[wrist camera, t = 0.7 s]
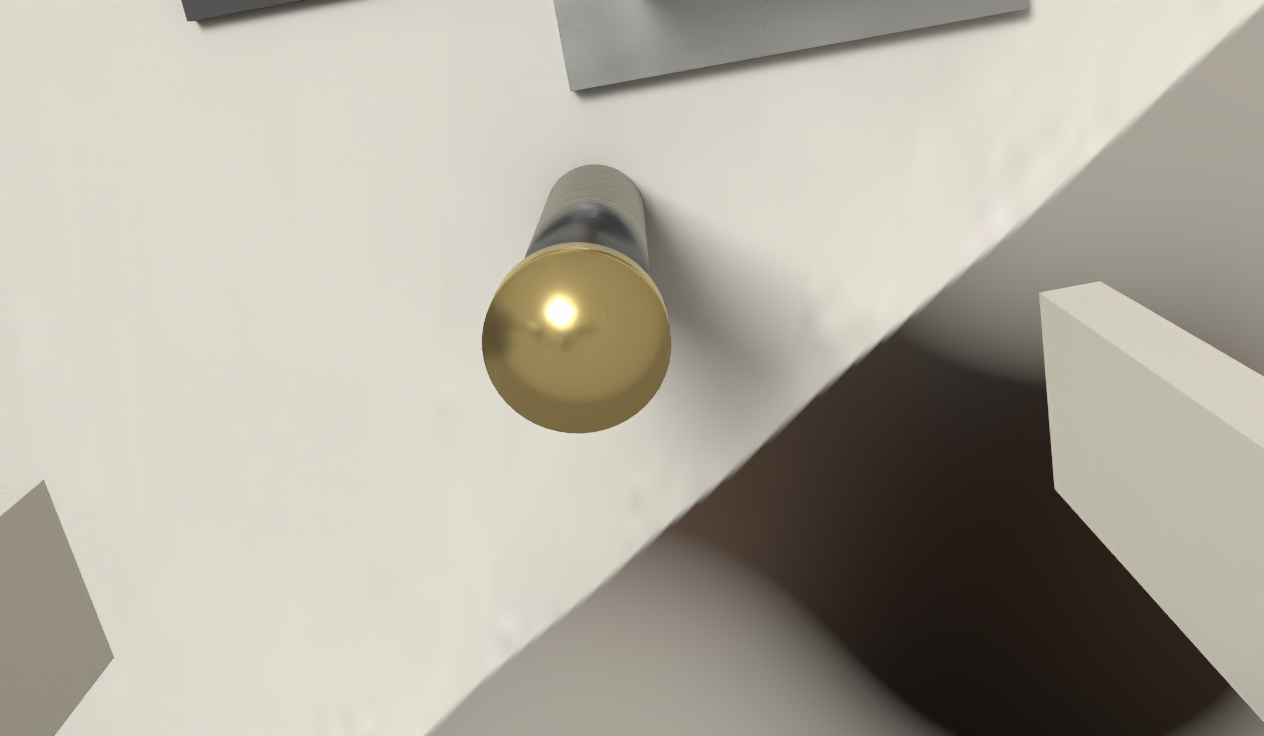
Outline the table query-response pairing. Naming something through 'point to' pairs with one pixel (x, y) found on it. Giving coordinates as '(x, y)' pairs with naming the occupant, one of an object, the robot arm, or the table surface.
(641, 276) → the gold capped cylinder
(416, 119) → the table surface
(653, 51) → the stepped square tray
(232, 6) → the mat
